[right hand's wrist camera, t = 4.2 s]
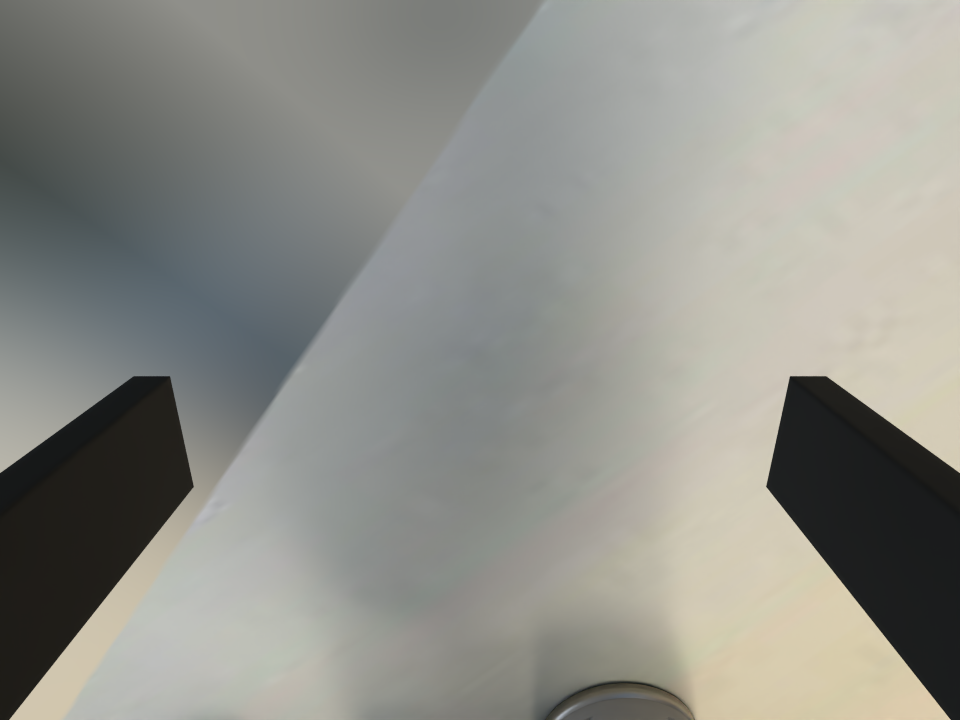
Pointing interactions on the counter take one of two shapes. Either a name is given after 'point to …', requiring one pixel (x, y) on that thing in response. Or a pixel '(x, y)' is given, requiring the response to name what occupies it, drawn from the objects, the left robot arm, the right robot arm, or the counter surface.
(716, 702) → the counter surface
